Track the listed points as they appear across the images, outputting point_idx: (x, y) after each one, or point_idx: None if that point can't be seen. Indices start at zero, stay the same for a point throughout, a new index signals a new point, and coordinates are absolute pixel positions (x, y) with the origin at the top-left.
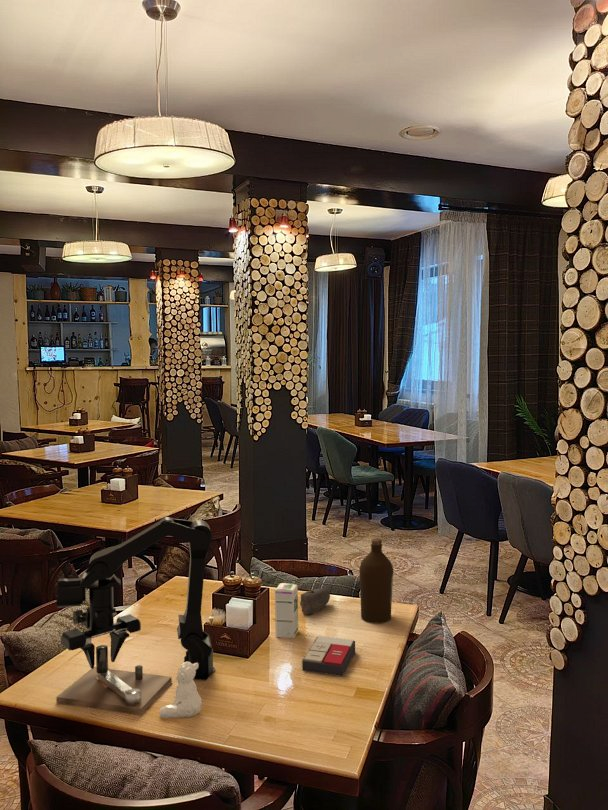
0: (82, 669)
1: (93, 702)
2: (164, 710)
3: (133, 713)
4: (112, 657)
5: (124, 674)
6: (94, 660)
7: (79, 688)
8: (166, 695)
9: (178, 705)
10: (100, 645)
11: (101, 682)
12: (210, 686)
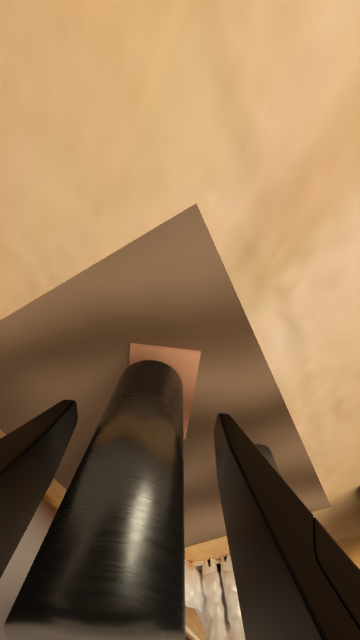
0: (171, 105)
1: None
2: None
3: None
4: (220, 461)
5: (245, 397)
6: (33, 514)
7: (37, 368)
8: None
9: (204, 614)
10: (110, 606)
11: None
12: (352, 544)
